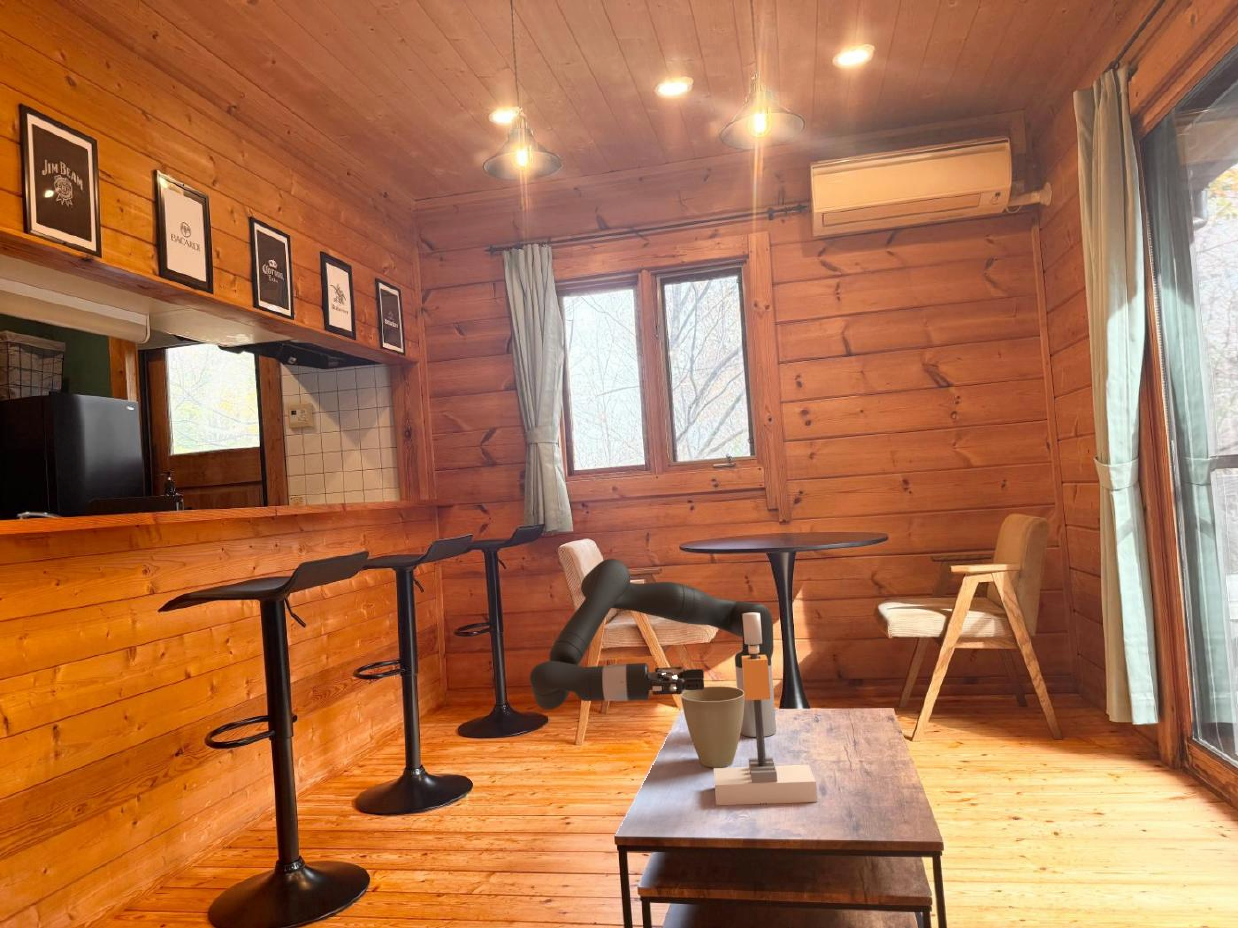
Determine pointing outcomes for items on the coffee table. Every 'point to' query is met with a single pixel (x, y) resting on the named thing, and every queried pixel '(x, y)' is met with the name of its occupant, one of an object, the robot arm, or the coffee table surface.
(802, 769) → the stand
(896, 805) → the coffee table surface
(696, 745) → the plant pot
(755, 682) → the sleeve
